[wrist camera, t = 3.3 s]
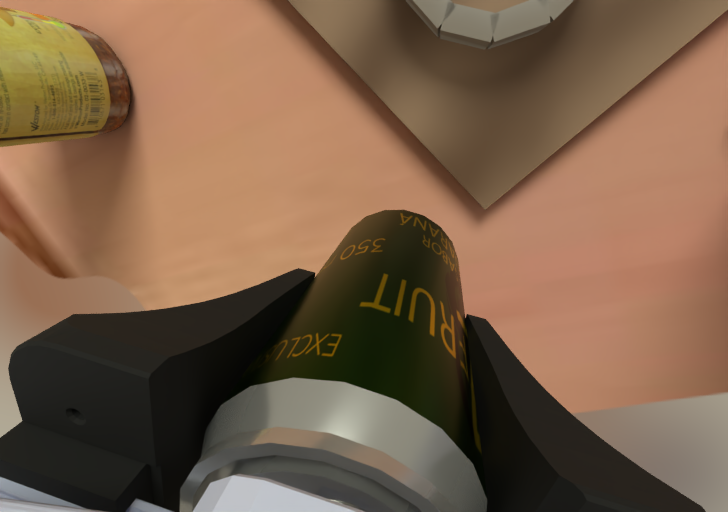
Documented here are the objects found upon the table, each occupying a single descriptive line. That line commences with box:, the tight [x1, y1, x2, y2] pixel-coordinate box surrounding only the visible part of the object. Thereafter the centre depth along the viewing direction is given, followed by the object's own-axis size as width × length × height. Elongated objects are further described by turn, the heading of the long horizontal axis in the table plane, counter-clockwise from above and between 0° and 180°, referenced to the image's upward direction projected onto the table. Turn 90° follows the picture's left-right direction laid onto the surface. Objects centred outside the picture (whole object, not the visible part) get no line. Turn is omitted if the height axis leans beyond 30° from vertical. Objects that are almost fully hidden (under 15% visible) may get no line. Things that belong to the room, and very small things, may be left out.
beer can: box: [180, 210, 487, 512], centre depth 11 cm, size 5×5×12 cm
